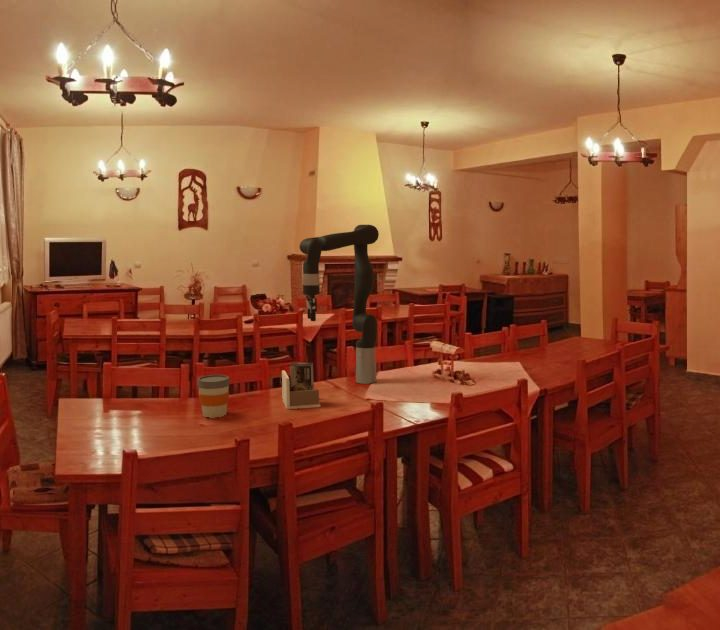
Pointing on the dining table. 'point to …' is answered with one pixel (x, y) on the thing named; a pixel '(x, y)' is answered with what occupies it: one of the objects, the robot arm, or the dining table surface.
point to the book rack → (298, 396)
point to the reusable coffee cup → (213, 395)
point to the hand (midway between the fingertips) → (311, 319)
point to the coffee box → (301, 376)
